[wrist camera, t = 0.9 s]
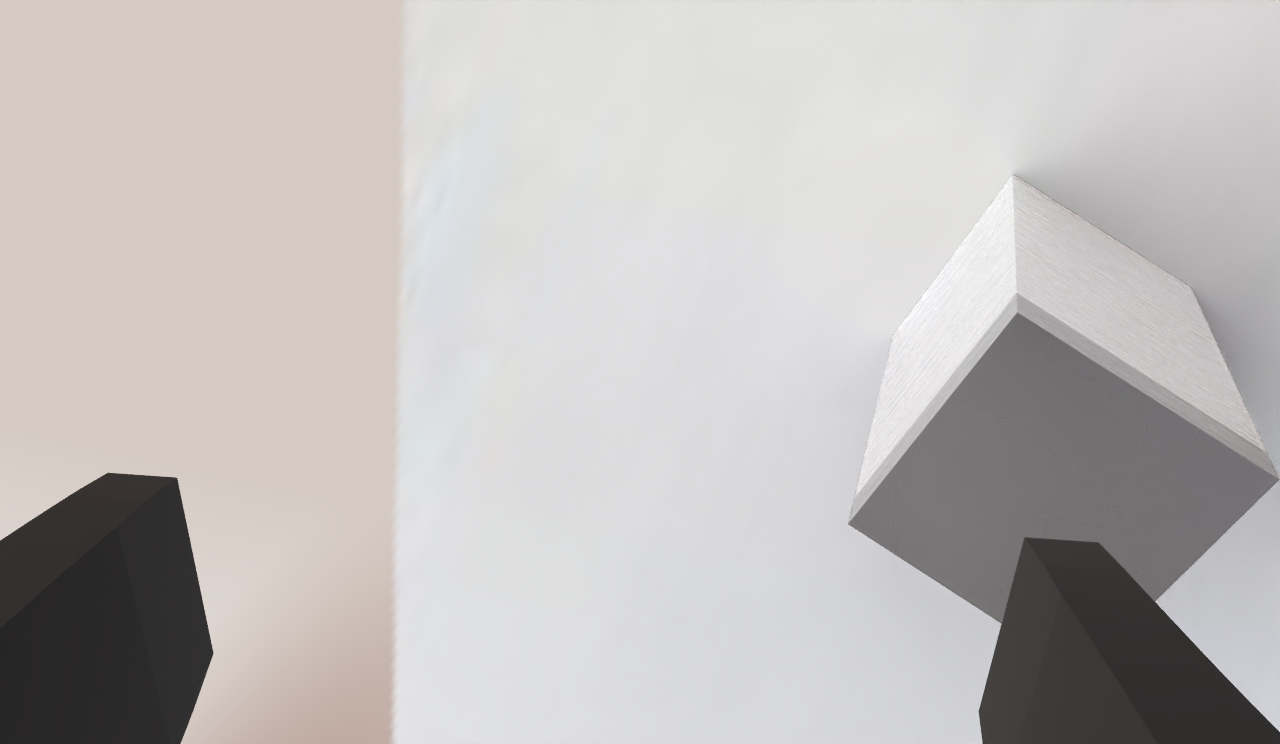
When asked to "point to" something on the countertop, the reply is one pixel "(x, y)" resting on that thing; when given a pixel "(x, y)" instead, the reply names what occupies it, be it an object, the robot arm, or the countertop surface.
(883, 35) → the countertop surface
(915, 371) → the peg
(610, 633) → the countertop surface
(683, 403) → the countertop surface
